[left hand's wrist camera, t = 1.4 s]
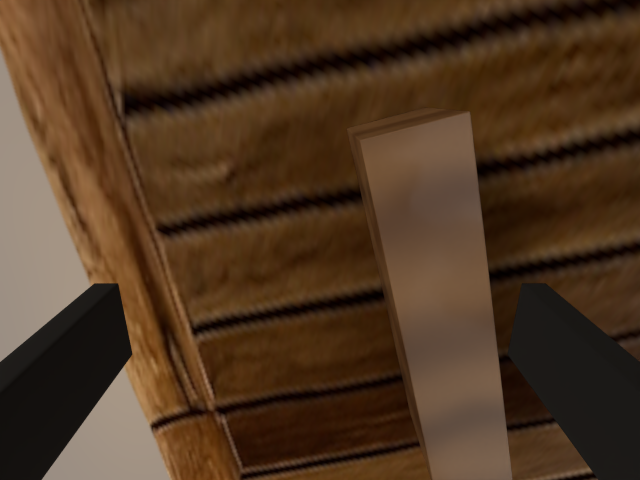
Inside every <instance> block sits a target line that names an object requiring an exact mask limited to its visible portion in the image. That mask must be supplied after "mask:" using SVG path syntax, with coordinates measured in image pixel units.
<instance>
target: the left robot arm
mask: <svg viewBox="0 0 640 480" xmlns="http://www.w3.org/2000/svg"><path fill="white" fill-rule="evenodd" d="M131 356H132V350H131V345H130V340H129V335H128V330H127V325H126V320H125V315H124V310H123V305H122V300H121V296H120V291H119V286H118V284H93V285H92V286H91V287H90V288H89V289H87V290H86V291H85V292H84V293H83V294H81V295H80V296H79V297H78V298H77V299H75V300H74V301H73V302H72V303H71V304H69V305H68V306H67V307H66V308H65V309H63V310H62V311H61V312H60V313H59V314H57V315H56V316H55V317H54V318H53V319H51V320H50V321H49V322H48V323H47V324H45V325H44V326H43V327H42V328H41V329H39V330H38V331H37V332H36V333H35V334H33V335H32V336H31V337H30V338H29V339H27V340H26V341H25V342H24V343H23V344H21V345H20V346H19V347H18V348H17V349H15V350H14V351H13V352H12V353H11V354H9V355H8V356H7V357H6V358H5V359H3V360H2V361H1V362H0V480H42V478H43V477H44V476H45V474H46V473H47V471H48V470H49V469H50V467H51V466H52V465H53V463H54V462H55V460H56V459H57V458H58V456H59V455H60V454H61V452H62V451H63V449H64V448H65V447H66V445H67V444H68V442H69V441H70V440H71V438H72V437H73V436H74V434H75V433H76V431H77V430H78V429H79V427H80V426H81V425H82V423H83V422H84V420H85V419H86V418H87V416H88V415H89V413H90V412H91V411H92V409H93V408H94V407H95V405H96V404H97V402H98V401H99V400H100V398H101V397H102V396H103V394H104V393H105V391H106V390H107V389H108V387H109V386H110V384H111V383H112V382H113V380H114V379H115V378H116V376H117V375H118V373H119V372H120V371H121V369H122V368H123V367H124V365H125V364H126V362H127V361H128V360H129V358H130V357H131ZM508 356H509V357H510V358H511V360H512V361H513V362H514V364H515V365H516V367H517V368H518V369H519V371H520V372H521V373H522V375H523V376H524V378H525V379H526V380H527V382H528V383H529V384H530V386H531V387H532V389H533V390H534V391H535V393H536V394H537V396H538V397H539V398H540V400H541V401H542V402H543V404H544V405H545V407H546V408H547V409H548V411H549V412H550V413H551V415H552V416H553V418H554V419H555V420H556V422H557V423H558V425H559V426H560V427H561V429H562V430H563V431H564V433H565V434H566V436H567V437H568V438H569V440H570V441H571V442H572V444H573V445H574V447H575V448H576V449H577V451H578V452H579V454H580V455H581V456H582V458H583V459H584V460H585V462H586V463H587V465H588V466H589V467H590V469H591V470H592V471H593V473H594V474H595V476H596V477H597V478H598V480H640V362H639V361H638V360H637V359H635V358H634V357H633V356H632V355H631V354H629V353H628V352H627V351H626V350H625V349H623V348H622V347H621V346H620V345H619V344H617V343H616V342H615V341H614V340H613V339H611V338H610V337H609V336H608V335H607V334H605V333H604V332H603V331H602V330H601V329H599V328H598V327H597V326H596V325H595V324H593V323H592V322H591V321H590V320H589V319H587V318H586V317H585V316H584V315H583V314H581V313H580V312H579V311H578V310H577V309H575V308H574V307H573V306H572V305H571V304H569V303H568V302H567V301H566V300H565V299H563V298H562V297H561V296H560V295H559V294H557V293H556V292H555V291H554V290H553V289H551V288H550V287H549V286H548V285H547V284H522V286H521V291H520V296H519V300H518V305H517V310H516V315H515V320H514V325H513V330H512V335H511V340H510V345H509V350H508Z"/></svg>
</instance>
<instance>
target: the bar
mask: <svg viewBox="0 0 640 480" xmlns="http://www.w3.org/2000/svg"><path fill="white" fill-rule="evenodd" d="M347 133H348V137H349V141H350V146H351V150H352V155H353V159H354V164H355V168H356V173H357V177H358V182H359V186H360V191H361V195H362V200H363V204H364V208H365V213H366V217H367V222H368V226H369V231H370V235H371V240H372V244H373V249H374V253H375V258H376V262H377V266H378V271H379V275H380V280H381V284H382V289H383V293H384V298H385V302H386V307H387V311H388V316H389V320H390V325H391V329H392V333H393V338H394V342H395V347H396V351H397V356H398V360H399V365H400V369H401V374H402V378H403V383H404V387H405V391H406V396H407V400H408V405H409V409H410V414H411V417H412V420H413V423H414V427H415V430H416V433H417V436H418V439H419V443H420V446H421V449H422V452H423V455H424V459H425V462H426V465H427V468H428V472H429V475H430V478H431V480H512V472H511V463H510V455H509V446H508V437H507V429H506V420H505V411H504V402H503V394H502V385H501V376H500V368H499V359H498V350H497V342H496V333H495V324H494V315H493V307H492V298H491V289H490V281H489V272H488V263H487V254H486V246H485V237H484V228H483V220H482V211H481V202H480V193H479V185H478V176H477V167H476V159H475V150H474V141H473V133H472V124H471V115H470V111H459V110H448V109H436V108H422V109H418V110H414V111H411V112H407V113H403V114H399V115H396V116H392V117H388V118H384V119H381V120H377V121H373V122H369V123H365V124H362V125H358V126H354V127H350V128H347Z"/></svg>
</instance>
